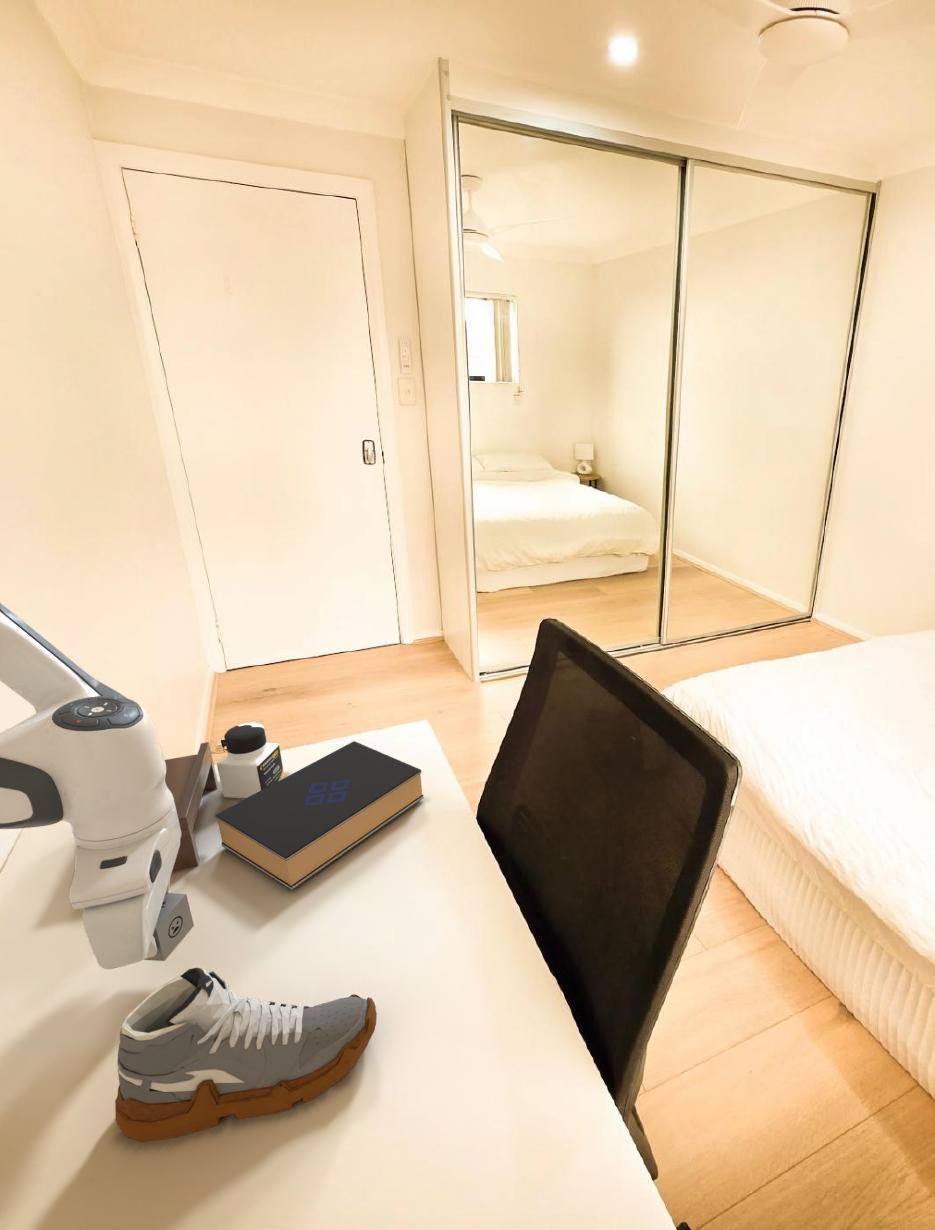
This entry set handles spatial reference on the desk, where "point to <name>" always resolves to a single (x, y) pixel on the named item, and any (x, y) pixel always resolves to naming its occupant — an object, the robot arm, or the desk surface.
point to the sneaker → (228, 1055)
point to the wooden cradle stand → (189, 797)
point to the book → (319, 812)
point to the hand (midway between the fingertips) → (155, 930)
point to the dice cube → (172, 924)
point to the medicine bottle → (249, 761)
